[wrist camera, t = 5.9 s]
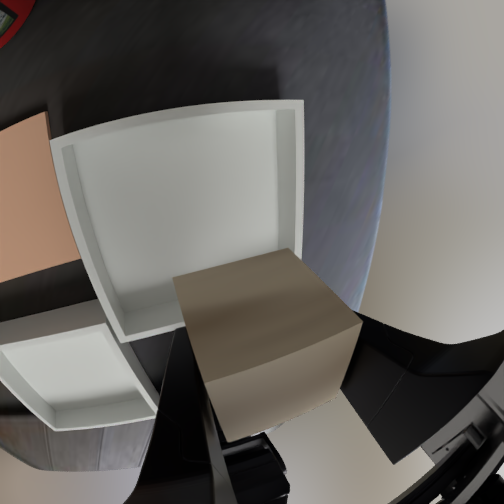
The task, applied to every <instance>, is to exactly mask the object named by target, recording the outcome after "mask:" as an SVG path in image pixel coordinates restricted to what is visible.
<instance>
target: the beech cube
mask: <svg viewBox="0 0 504 504" xmlns="http://www.w3.org/2000/svg"><path fill="white" fill-rule="evenodd" d="M172 278H173V282H174V286H175V290H176V294H177V297H178V301H179V305H180V308H181V312H182V315H183V319H184V322H185V326H186V329H187V332H188V335H189V339H190V342H191V345H192V348H193V351H194V354H195V357H196V361H197V364H198V366H199V369H200V372H201V375H202V378H203V381H204V384H205V387H206V389H207V392H208V395H209V397H210V400H211V403H212V405H213V408H214V410H215V413H216V415H217V418H218V420H219V423H220V425H221V428H222V430H223V433H224V435H225V437H226V440H227V442H232V441H235V440H238V439H241V438H244V437H247V436H250V435H253V434H255V433H258V432H261V431H264V430H266V429H269V428H271V427H274V426H276V425H279V424H281V423H284V422H286V421H289V420H291V419H293V418H295V417H298V416H300V415H302V414H304V413H307V412H309V411H311V410H313V409H315V408H317V407H319V406H321V405H323V404H325V403H327V402H329V401H331V400H333V399H335V398H336V396H337V394H338V391H339V389H340V386H341V384H342V381H343V379H344V376H345V373H346V371H347V368H348V365H349V363H350V360H351V357H352V354H353V351H354V348H355V345H356V342H357V339H358V336H359V333H360V330H361V327H362V323H363V321H362V320H361V319H360V318H359V317H358V316H357V315H356V314H355V313H354V312H353V311H352V310H351V309H350V308H349V307H348V306H347V305H346V304H345V303H344V302H343V301H342V300H341V299H340V298H339V297H338V296H337V295H336V294H335V293H334V292H333V291H332V290H331V289H330V288H329V287H328V286H327V285H326V284H325V283H324V282H323V281H322V280H321V279H320V278H319V277H318V276H317V275H316V274H315V273H314V272H313V271H312V270H311V269H310V268H309V267H308V266H307V265H306V264H305V263H304V262H303V261H301V260H300V259H299V258H298V257H297V256H296V255H295V254H294V253H293V252H292V251H291V250H290V249H289V248H285V249H281V250H277V251H273V252H269V253H266V254H262V255H258V256H254V257H250V258H246V259H242V260H239V261H235V262H231V263H227V264H223V265H219V266H215V267H211V268H208V269H204V270H200V271H196V272H192V273H188V274H184V275H180V276H176V277H172Z"/></svg>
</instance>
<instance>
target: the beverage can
mask: <svg viewBox="0 0 504 504" xmlns="http://www.w3.org/2000/svg"><path fill="white" fill-rule="evenodd" d="M34 3H35V0H0V48H2V47H3V46H4V45H5V44H6V43H7V42H8V41H9V40H10V39H11V38H12V37H13V36H14V35H15V33H16V32H17V31H18V30H19V28H20V27H21V26H22V24H23V23H24V22H25V20H26V18H27V17H28V15H29V13H30V12H31V10H32V7H33V5H34Z"/></svg>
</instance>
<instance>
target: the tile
mask: <svg viewBox="0 0 504 504" xmlns="http://www.w3.org/2000/svg"><path fill="white" fill-rule="evenodd" d="M49 140H52V139H51V132H50V125H49V118H48V111H46V112H42V113H40V114H37V115H35V116H33V117H30V118H28V119H26V120H23V121H21V122H19V123H17V124H15V125H13V126H10V127H8V128H6V129H4V130H2V131H0V283H1V282H4V281H7V280H10V279H13V278H16V277H20V276H23V275H26V274H29V273H33V272H36V271H39V270H43V269H46V268H49V267H53V266H56V265H60V264H63V263H67V262H70V261H74V260H77V259H81V255H80V253H79V250H78V247H77V244H76V242H75V239H74V236H73V233H72V230H71V227H70V224H69V220H68V217H67V214H66V210H65V207H64V203H63V200H62V196H61V192H60V188H59V184H58V180H57V176H56V172H55V167H54V162H53V157H52V152H51V147H50V141H49Z"/></svg>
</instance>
